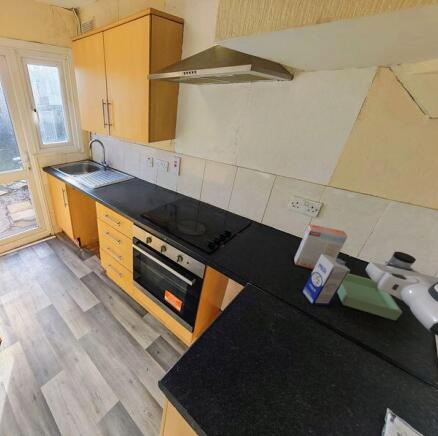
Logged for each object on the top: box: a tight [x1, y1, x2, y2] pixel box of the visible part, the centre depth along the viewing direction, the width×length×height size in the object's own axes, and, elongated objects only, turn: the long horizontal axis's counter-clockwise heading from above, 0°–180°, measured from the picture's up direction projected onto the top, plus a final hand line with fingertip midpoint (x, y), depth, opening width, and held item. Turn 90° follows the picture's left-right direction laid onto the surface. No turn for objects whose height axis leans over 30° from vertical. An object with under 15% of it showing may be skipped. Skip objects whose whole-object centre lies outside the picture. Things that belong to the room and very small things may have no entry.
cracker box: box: [293, 223, 348, 271], centre depth 107 cm, size 14×6×21 cm, turn 65°
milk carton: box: [302, 254, 351, 306], centre depth 88 cm, size 7×7×20 cm
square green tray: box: [337, 273, 403, 322], centre depth 94 cm, size 17×18×4 cm
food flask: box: [388, 251, 417, 270], centre depth 82 cm, size 5×5×12 cm
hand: (395, 265), depth 82 cm, fingers closed on food flask, 5 cm apart
